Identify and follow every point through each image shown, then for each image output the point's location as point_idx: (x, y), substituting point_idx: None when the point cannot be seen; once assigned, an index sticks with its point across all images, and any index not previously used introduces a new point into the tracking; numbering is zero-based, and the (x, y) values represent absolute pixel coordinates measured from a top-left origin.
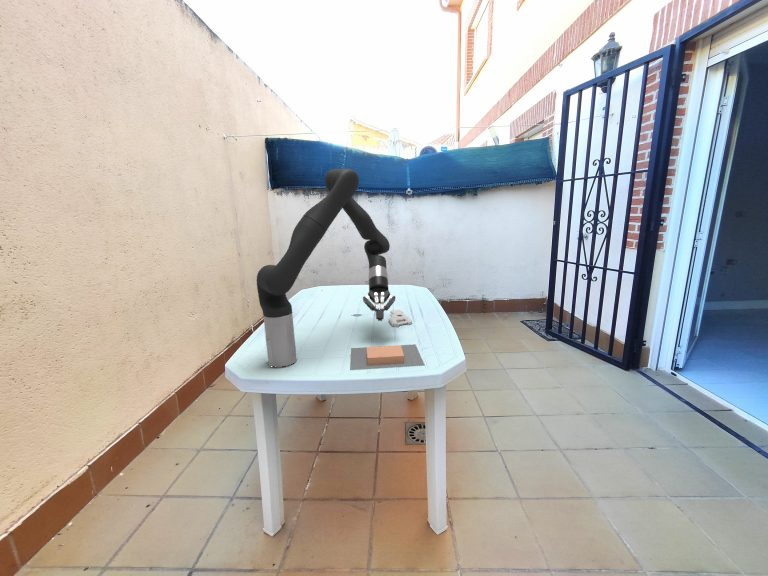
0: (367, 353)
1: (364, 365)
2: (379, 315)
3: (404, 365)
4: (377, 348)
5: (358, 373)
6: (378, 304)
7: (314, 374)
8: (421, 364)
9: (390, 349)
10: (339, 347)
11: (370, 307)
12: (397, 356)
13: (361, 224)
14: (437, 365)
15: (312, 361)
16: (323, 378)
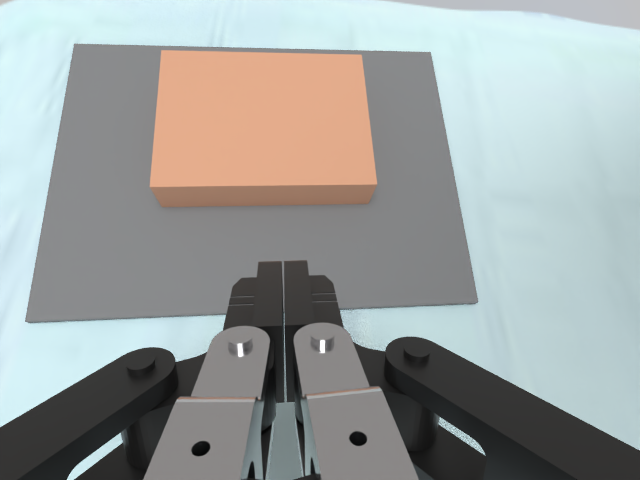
0: (365, 104)
1: (370, 82)
2: (290, 274)
3: None
4: (308, 160)
5: (389, 36)
6: (306, 388)
7: (569, 53)
8: (87, 54)
9: (228, 134)
10: (556, 342)
11: (452, 450)
12: (199, 53)
13: None
14: (8, 51)
15: (633, 168)
16: (521, 21)
